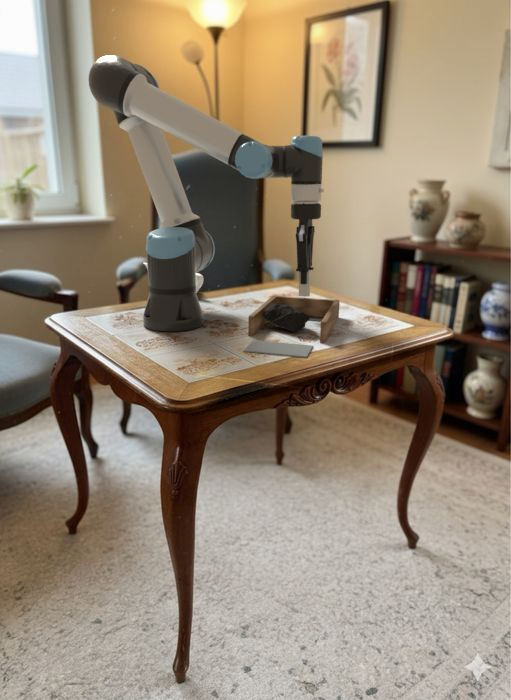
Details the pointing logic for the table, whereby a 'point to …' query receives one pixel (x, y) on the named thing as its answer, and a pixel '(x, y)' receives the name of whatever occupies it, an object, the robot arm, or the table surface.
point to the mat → (279, 348)
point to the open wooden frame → (313, 307)
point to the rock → (286, 317)
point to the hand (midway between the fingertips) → (304, 295)
